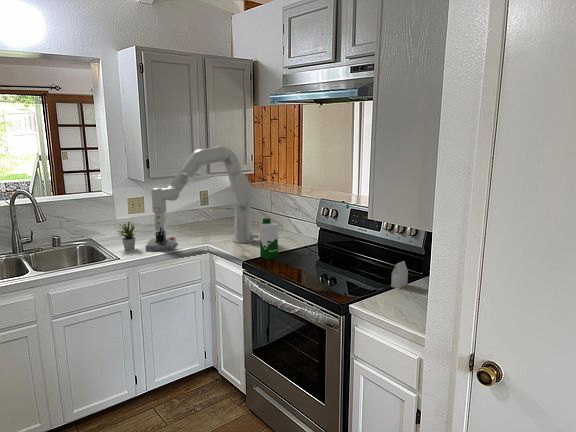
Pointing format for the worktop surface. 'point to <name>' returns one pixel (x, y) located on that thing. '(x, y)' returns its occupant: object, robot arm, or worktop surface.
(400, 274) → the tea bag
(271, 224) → the milk carton
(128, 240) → the house plant
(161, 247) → the socket plate
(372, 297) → the worktop surface
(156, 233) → the plug
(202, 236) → the worktop surface
